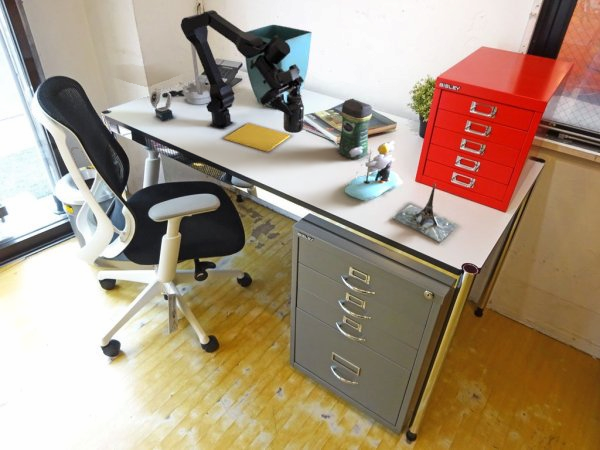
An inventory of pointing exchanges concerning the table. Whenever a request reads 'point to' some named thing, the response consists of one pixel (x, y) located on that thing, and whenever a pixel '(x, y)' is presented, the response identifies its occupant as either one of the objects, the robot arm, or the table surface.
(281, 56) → the robot arm
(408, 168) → the table surface
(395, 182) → the cartoon character figurine
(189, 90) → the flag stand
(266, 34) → the flower pot
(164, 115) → the watch
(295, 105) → the supplement bottle
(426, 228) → the eiffel tower figurine
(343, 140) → the coffee jar
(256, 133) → the cloth
